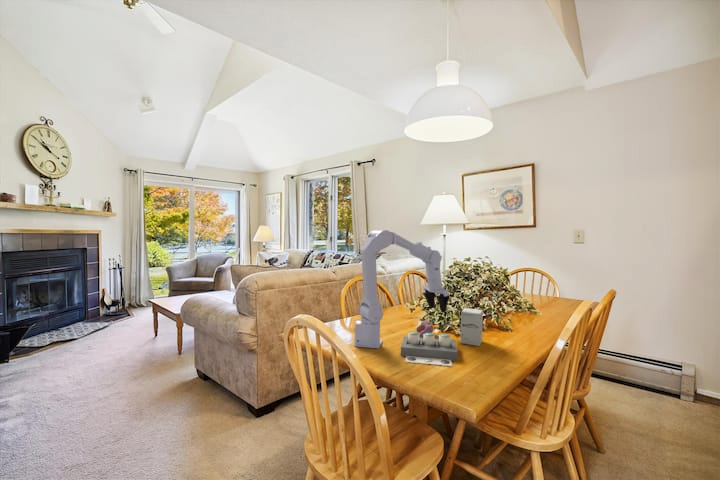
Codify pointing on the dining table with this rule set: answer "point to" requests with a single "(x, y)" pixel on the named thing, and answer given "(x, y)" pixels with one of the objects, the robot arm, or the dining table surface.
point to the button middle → (428, 339)
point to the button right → (444, 340)
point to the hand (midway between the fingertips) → (437, 309)
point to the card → (428, 361)
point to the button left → (413, 338)
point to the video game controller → (425, 328)
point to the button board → (429, 350)
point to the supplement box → (471, 326)
